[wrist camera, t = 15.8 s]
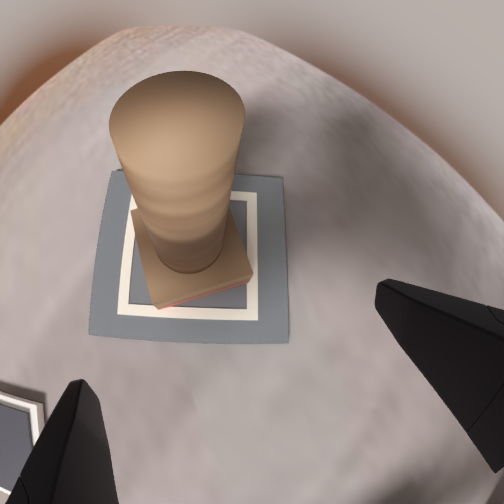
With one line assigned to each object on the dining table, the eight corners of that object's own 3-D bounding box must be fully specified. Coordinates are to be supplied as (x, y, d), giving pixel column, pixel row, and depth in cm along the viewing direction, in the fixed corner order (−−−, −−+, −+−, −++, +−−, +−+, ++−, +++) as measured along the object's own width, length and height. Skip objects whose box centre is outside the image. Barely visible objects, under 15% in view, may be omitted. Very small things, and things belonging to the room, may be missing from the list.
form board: (280, 182, 23) (282, 177, 23) (286, 343, 20) (289, 343, 19) (113, 174, 22) (111, 170, 21) (91, 335, 18) (88, 334, 17)
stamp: (248, 282, 20) (312, 171, 8) (158, 310, 18) (83, 230, 7) (220, 202, 21) (241, 46, 10) (137, 225, 20) (79, 79, 8)
